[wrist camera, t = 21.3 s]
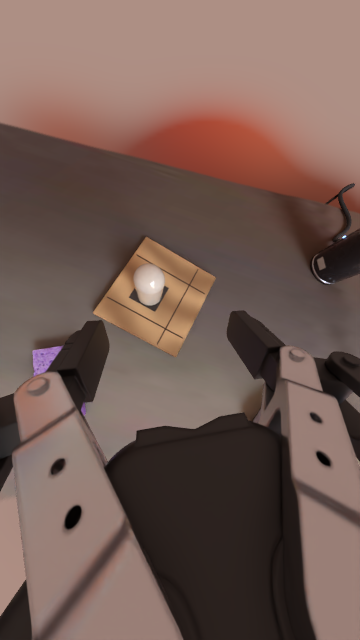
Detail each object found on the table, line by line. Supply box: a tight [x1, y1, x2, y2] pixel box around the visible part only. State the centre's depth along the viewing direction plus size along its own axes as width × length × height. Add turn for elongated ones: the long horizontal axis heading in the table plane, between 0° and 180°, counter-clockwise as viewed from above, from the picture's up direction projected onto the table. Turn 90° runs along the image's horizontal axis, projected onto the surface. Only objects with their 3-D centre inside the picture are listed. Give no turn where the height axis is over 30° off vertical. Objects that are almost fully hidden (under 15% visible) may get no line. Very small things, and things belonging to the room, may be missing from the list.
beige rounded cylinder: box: [133, 263, 165, 305], centre depth 28 cm, size 5×5×9 cm
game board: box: [93, 237, 216, 357], centre depth 33 cm, size 20×18×2 cm
